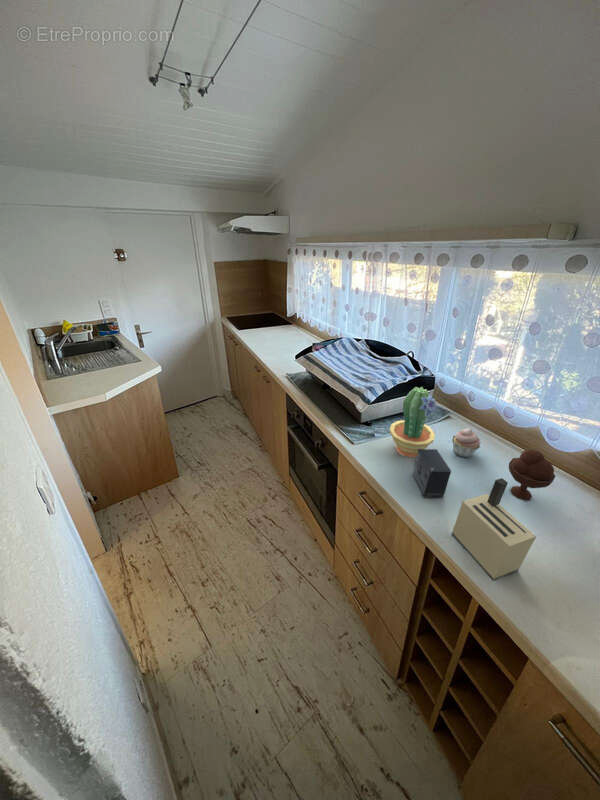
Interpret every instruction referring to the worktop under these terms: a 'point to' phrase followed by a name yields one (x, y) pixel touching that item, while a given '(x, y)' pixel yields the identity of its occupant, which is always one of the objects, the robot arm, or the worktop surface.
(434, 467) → the small box
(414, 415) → the potted cactus
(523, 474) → the ice cream bowl
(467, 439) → the cupcake
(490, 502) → the slider
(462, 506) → the toaster
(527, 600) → the worktop surface
